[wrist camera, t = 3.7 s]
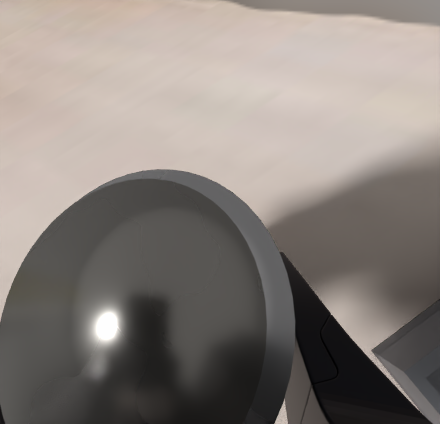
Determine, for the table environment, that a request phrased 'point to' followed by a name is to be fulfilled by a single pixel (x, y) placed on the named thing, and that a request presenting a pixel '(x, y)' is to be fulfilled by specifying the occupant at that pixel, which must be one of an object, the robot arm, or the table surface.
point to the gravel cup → (149, 311)
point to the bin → (416, 360)
